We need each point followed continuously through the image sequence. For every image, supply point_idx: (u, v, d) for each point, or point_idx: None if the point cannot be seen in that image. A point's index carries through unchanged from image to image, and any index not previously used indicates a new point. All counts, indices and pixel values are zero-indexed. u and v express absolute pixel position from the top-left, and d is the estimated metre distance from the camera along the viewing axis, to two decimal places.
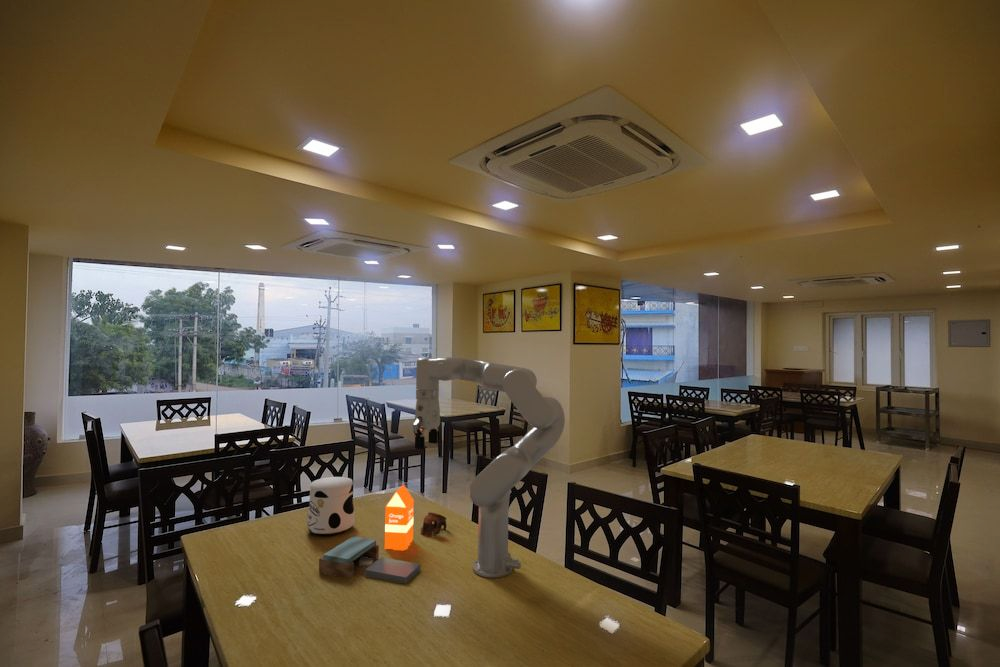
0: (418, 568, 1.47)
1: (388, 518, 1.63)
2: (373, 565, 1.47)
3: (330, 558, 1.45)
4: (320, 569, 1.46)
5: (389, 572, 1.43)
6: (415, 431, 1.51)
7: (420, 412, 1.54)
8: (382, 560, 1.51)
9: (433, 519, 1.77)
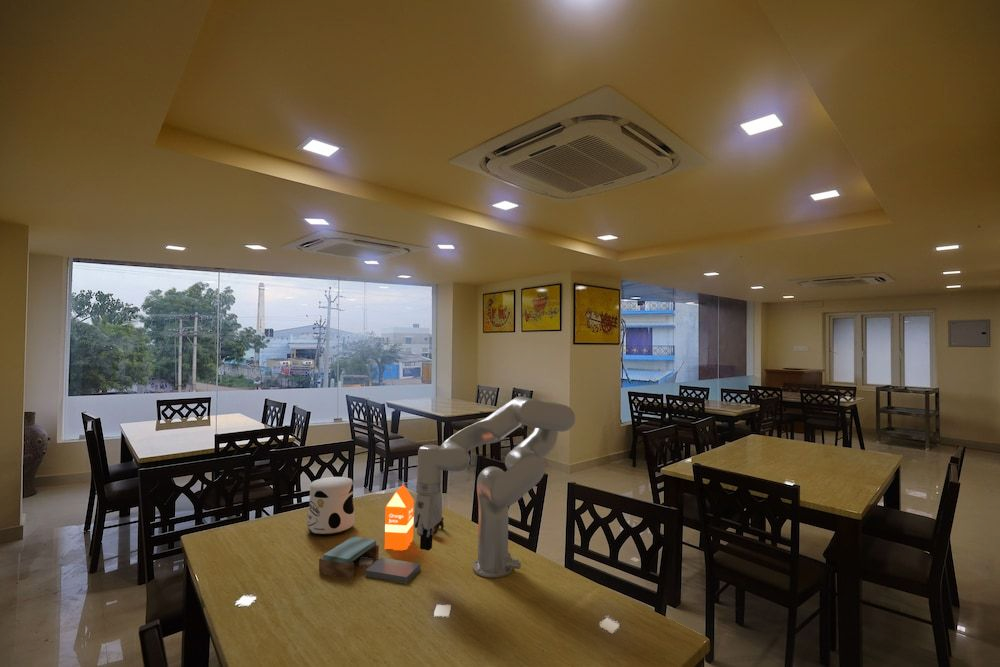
0: (418, 568, 1.47)
1: (388, 519, 1.63)
2: (373, 565, 1.47)
3: (330, 558, 1.45)
4: (320, 569, 1.46)
5: (389, 572, 1.43)
6: (421, 533, 1.40)
7: (420, 509, 1.38)
8: (382, 560, 1.50)
9: None
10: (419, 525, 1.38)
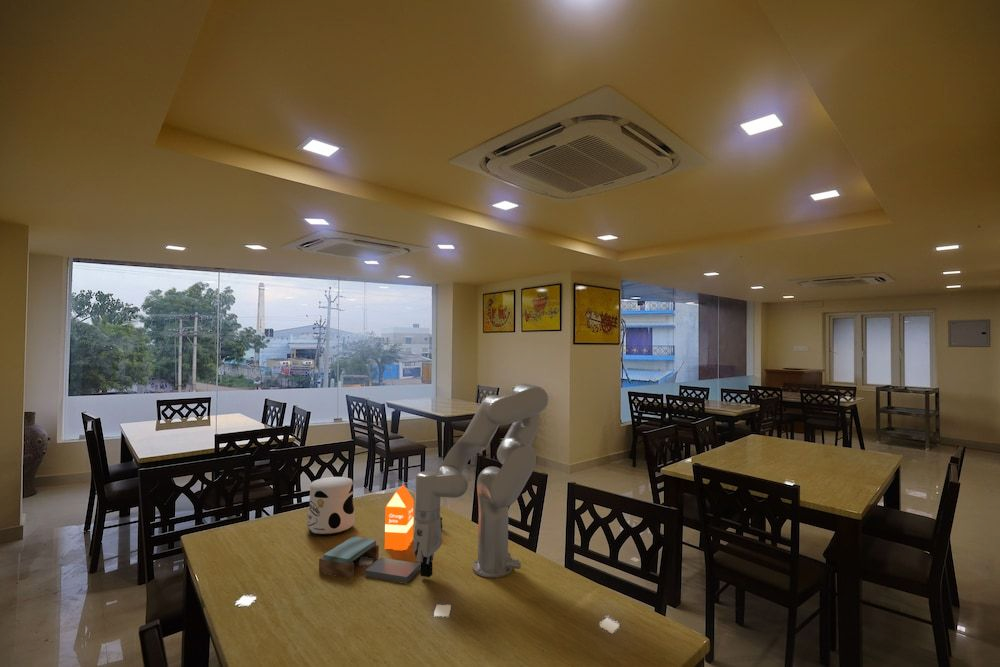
0: (418, 568, 1.47)
1: (388, 519, 1.63)
2: (373, 565, 1.47)
3: (330, 558, 1.45)
4: (320, 569, 1.46)
5: (389, 572, 1.43)
6: None
7: (419, 537, 1.38)
8: (382, 560, 1.50)
9: None
10: (419, 553, 1.38)
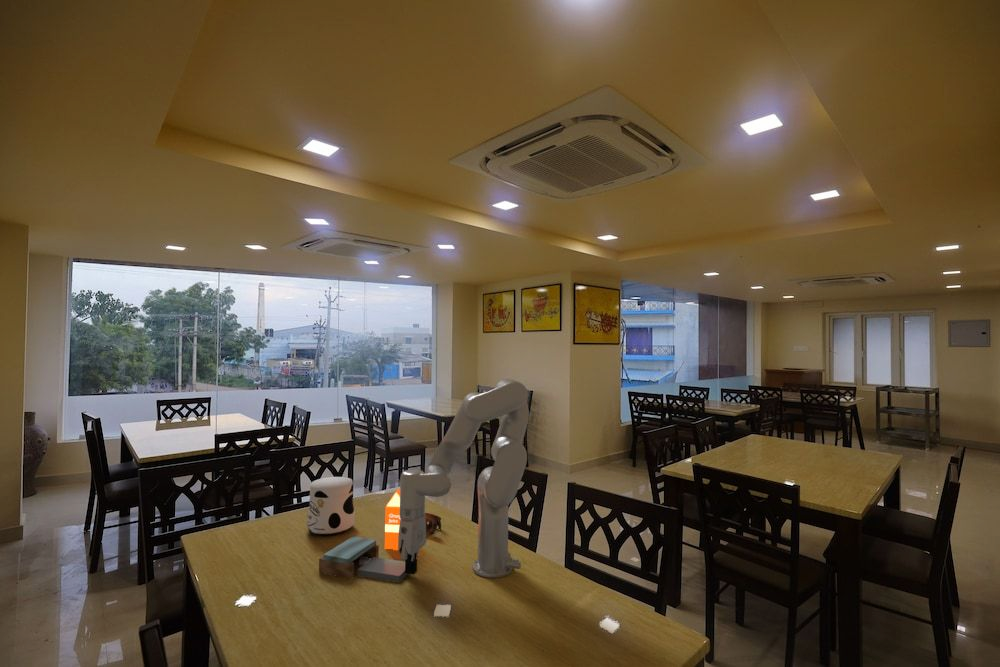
0: None
1: (388, 519, 1.63)
2: (365, 565, 1.47)
3: (330, 558, 1.45)
4: (320, 569, 1.46)
5: (382, 571, 1.43)
6: None
7: (404, 535, 1.40)
8: (374, 560, 1.51)
9: (428, 519, 1.76)
10: (403, 550, 1.40)
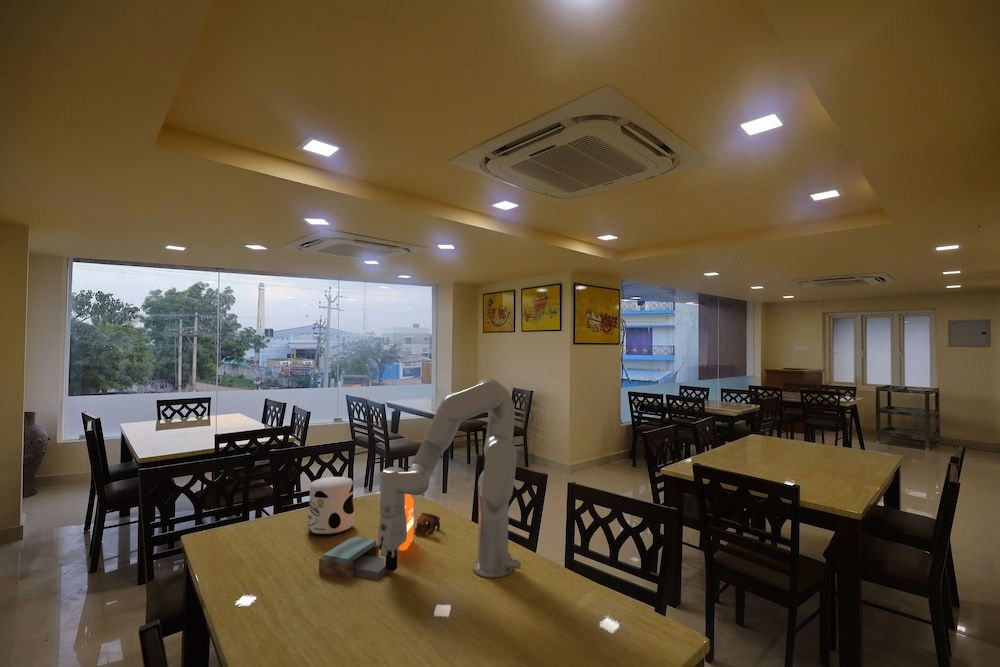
0: None
1: None
2: None
3: (330, 558, 1.45)
4: (320, 569, 1.46)
5: (362, 567, 1.45)
6: None
7: (383, 532, 1.42)
8: None
9: (427, 519, 1.76)
10: (383, 547, 1.42)
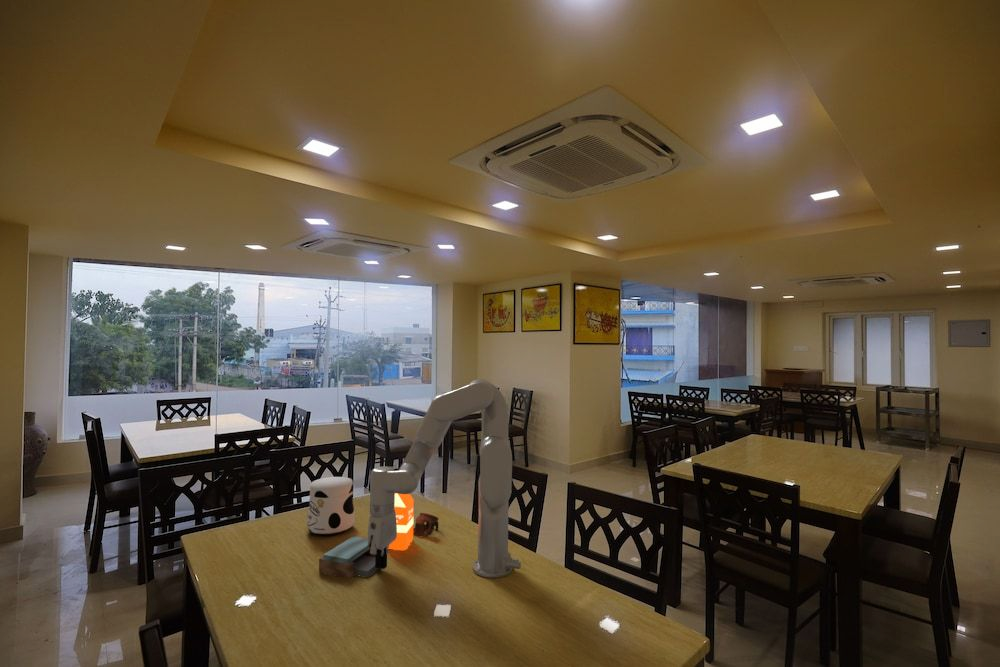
0: None
1: None
2: None
3: (330, 558, 1.45)
4: (320, 569, 1.46)
5: None
6: None
7: (373, 530, 1.43)
8: None
9: (426, 519, 1.76)
10: (372, 545, 1.43)
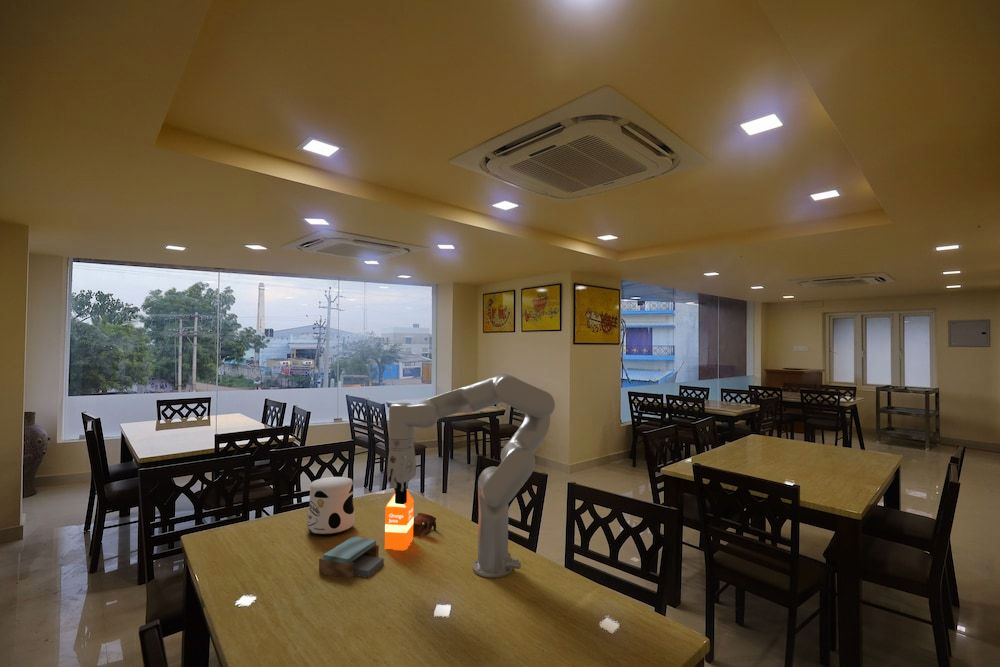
0: (381, 562, 1.51)
1: (388, 518, 1.63)
2: None
3: (330, 558, 1.45)
4: (320, 569, 1.46)
5: None
6: (395, 487, 1.44)
7: (393, 464, 1.42)
8: None
9: (423, 519, 1.76)
10: (392, 479, 1.42)
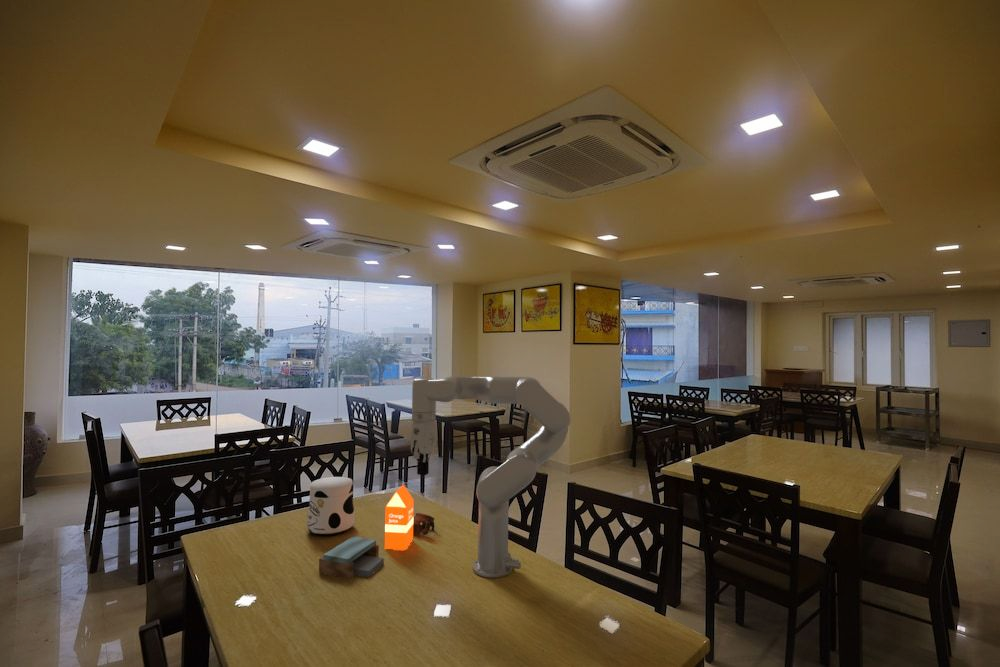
0: (381, 562, 1.51)
1: (388, 519, 1.63)
2: None
3: (330, 558, 1.45)
4: (320, 569, 1.46)
5: None
6: (418, 458, 1.49)
7: (416, 436, 1.48)
8: None
9: (422, 519, 1.76)
10: (415, 450, 1.48)
